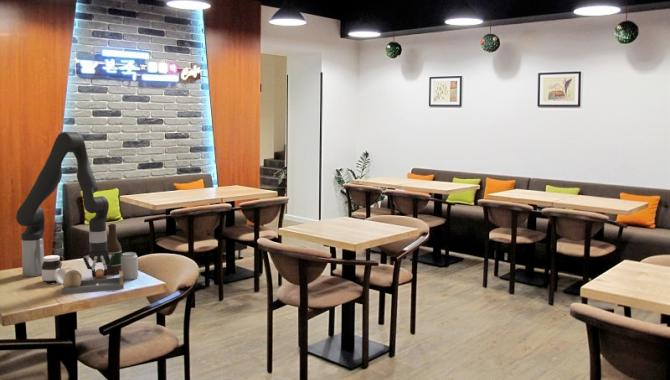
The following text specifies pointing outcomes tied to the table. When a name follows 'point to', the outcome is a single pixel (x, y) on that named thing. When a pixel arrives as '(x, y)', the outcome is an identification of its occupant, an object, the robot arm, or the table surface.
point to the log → (72, 279)
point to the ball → (99, 272)
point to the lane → (94, 285)
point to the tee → (100, 277)
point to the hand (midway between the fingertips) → (99, 277)
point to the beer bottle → (113, 251)
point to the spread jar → (52, 270)
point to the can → (129, 265)
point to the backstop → (121, 279)
